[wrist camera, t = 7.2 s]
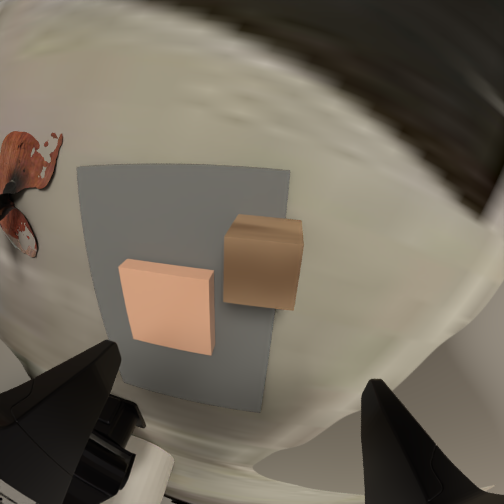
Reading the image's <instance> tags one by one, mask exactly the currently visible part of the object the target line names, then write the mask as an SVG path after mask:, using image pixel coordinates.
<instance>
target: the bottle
mask: <svg viewBox="0 0 504 504" xmlns="http://www.w3.org/2000/svg"><path fill="white" fill-rule="evenodd" d="M125 449H126V450H128V451H129V452H131V453H134V454H136V457H135V460H134V463H133V466H132V469H131V473H130V476H129V479H128V481H127V483H126V485H125V486H124V488H123V489H122V490H119V491H118V493H117V494H116V495H115V496H113V497H111V498H110V499H108V500H106V501H104V502H102V503H100V504H161V501H162V499H163V495H164V492H165V489H166V486H167V483H168V480H169V477H170V474H171V471H172V467H173V464H174V461H175V460H174V458H173V457H172V456H171V455H170V454H169V453H168V452H166V451H165V450H163V449H162V448H160V447H158V446H156V445H154V444H152V443H150V442H148V441H146V440H144V439H141V438H138V437H135V436H132V435H131V437H130V439H129V441H128V443H127V445H126V447H125Z"/></svg>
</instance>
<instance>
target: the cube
mask: <svg viewBox="0 0 504 504" xmlns="http://www.w3.org/2000/svg"><path fill="white" fill-rule="evenodd" d="M303 247H304V242H303V231H302V221H301V220H293V219H283V218H274V217H264V216H254V215H243V214H238V215H237V217H236V219H235V220H234V222H233V223H232V225H231V227H230V228H229V230H228V231H227V233H226V235H225V236H224V283H223V302H227V303H234V304H242V305H249V306H257V307H266V308H275V309H284V310H293V311H294V305H295V299H296V293H297V287H298V280H299V274H300V267H301V261H302V254H303Z"/></svg>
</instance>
